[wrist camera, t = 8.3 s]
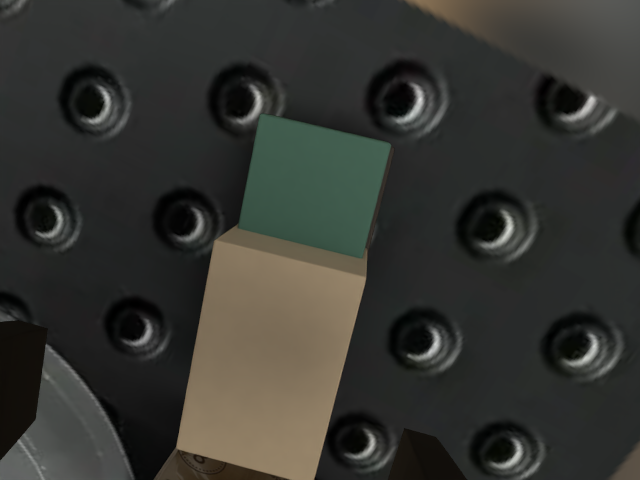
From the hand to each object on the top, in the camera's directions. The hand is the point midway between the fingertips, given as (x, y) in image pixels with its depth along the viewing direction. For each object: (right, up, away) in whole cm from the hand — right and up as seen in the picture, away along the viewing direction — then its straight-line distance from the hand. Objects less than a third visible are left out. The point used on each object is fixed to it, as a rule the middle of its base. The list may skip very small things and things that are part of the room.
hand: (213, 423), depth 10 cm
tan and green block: (+1, +2, +8) cm, 9 cm away
